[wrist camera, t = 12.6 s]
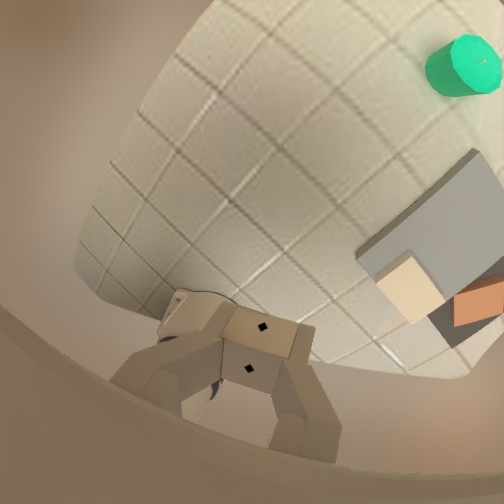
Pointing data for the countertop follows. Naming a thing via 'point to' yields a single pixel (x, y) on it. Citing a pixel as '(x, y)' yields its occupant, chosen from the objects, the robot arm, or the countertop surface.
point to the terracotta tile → (478, 301)
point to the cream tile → (410, 287)
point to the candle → (465, 68)
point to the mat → (461, 333)
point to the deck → (447, 228)
